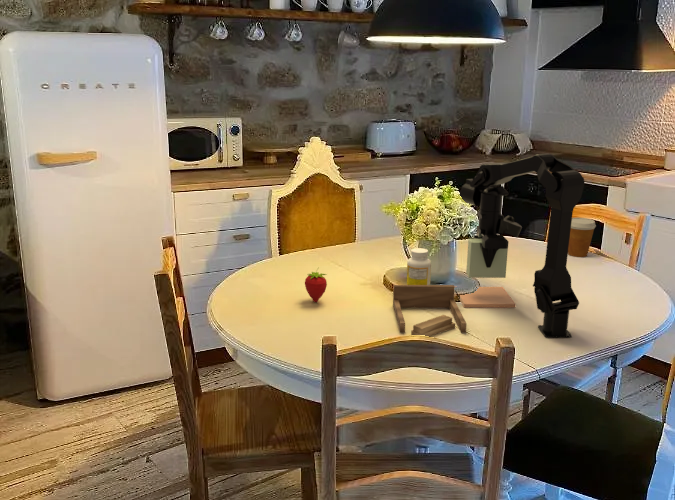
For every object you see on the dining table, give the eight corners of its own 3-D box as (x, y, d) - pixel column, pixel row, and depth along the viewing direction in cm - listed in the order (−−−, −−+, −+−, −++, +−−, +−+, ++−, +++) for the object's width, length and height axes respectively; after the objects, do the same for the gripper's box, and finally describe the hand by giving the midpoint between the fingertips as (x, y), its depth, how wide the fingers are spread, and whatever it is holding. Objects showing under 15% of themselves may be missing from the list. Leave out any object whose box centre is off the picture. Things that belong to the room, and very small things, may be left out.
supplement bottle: (414, 287, 197) (416, 245, 193) (434, 293, 193) (436, 249, 189) (401, 293, 192) (403, 250, 188) (421, 299, 188) (423, 255, 184)
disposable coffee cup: (557, 251, 234) (560, 218, 230) (580, 249, 236) (584, 216, 233) (574, 259, 225) (578, 224, 222) (598, 257, 228) (602, 223, 224)
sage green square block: (505, 277, 185) (508, 242, 182) (469, 277, 185) (471, 242, 182) (501, 273, 189) (504, 238, 186) (466, 273, 188) (468, 238, 186)
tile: (515, 307, 182) (515, 304, 182) (463, 307, 182) (464, 304, 182) (502, 290, 195) (502, 286, 195) (454, 289, 195) (454, 286, 195)
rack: (465, 332, 165) (467, 309, 164) (400, 332, 165) (400, 309, 163) (452, 305, 183) (453, 285, 181) (392, 305, 182) (393, 284, 181)
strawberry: (322, 296, 189) (322, 262, 186) (330, 305, 182) (330, 270, 180) (301, 298, 187) (301, 264, 185) (309, 307, 181) (309, 272, 178)
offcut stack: (455, 329, 168) (456, 318, 167) (420, 340, 161) (420, 329, 161) (445, 324, 171) (446, 313, 170) (410, 335, 164) (410, 324, 163)
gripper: (530, 217, 173) (525, 275, 177) (511, 202, 191) (506, 255, 195) (487, 217, 172) (483, 275, 177) (471, 202, 190) (468, 255, 195)
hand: (486, 265), depth 186 cm, fingers closed on sage green square block, 4 cm apart
